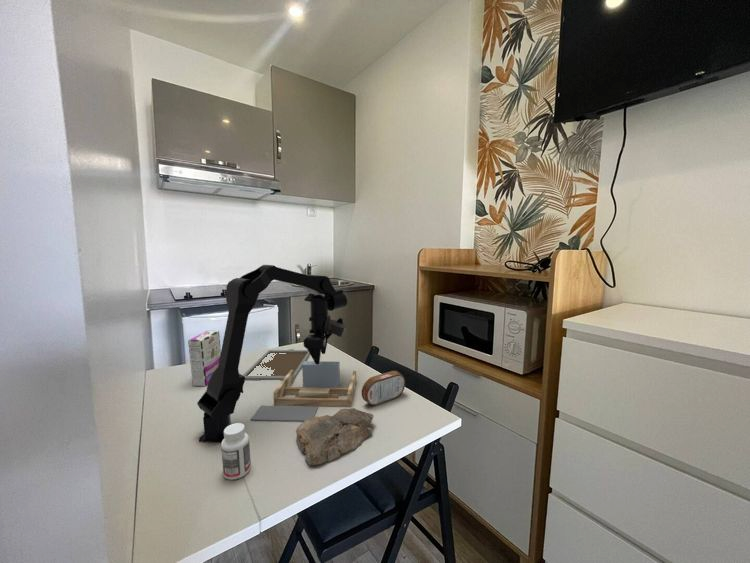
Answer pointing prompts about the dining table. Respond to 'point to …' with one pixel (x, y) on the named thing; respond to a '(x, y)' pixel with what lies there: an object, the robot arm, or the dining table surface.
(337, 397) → the offcut lower
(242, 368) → the dining table surface
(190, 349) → the candy bar box
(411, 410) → the dining table surface
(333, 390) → the rack
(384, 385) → the tin
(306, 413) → the mat
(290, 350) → the grey picture frame
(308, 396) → the offcut upper
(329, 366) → the light blue block
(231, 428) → the pill bottle
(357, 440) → the brown rock
